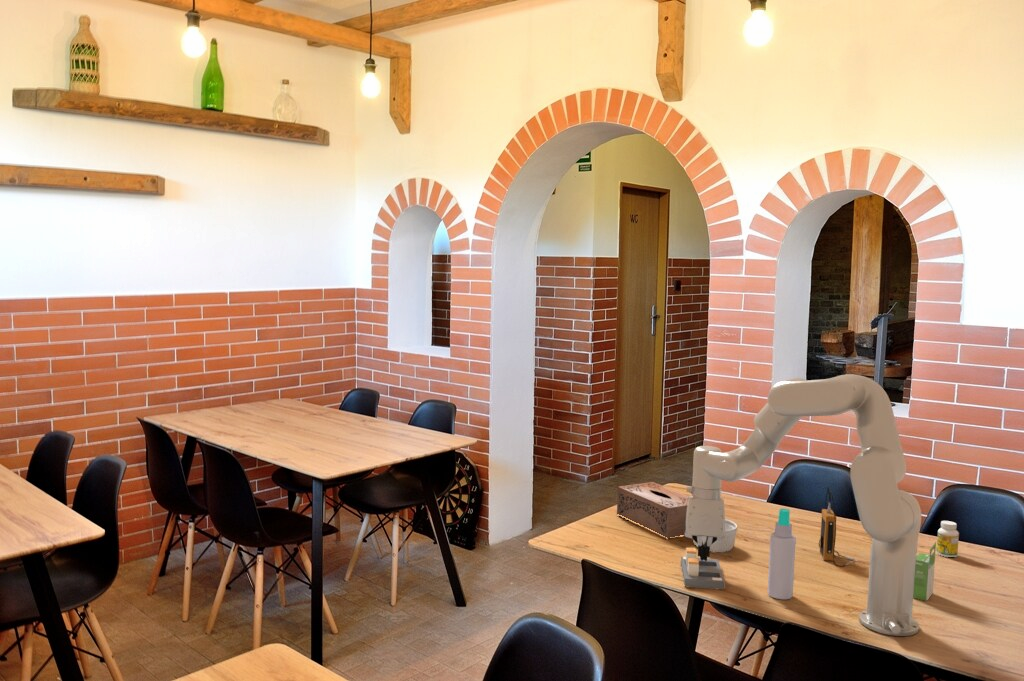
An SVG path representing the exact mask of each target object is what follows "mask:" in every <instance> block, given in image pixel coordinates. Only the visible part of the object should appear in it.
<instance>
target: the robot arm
mask: <svg viewBox="0 0 1024 681" xmlns="http://www.w3.org/2000/svg"><path fill="white" fill-rule="evenodd" d="M850 411H853V412H854V415H855V418H856V420H855V421H856V423H855V424H856V432H857V437H858V439H859V445H860V451H861V452H859V453H858V454H857V455H856V456H855V457H854V459H853V460H852V461H851V462H852V463H851V465H850V471H849V472H850V473H849V474H850V481H851V482H850V483H851V486H852V491H853V495H854V499H855V503H856V508H857V513H858V516H859V520H860V523H861V526H862V528H863V530H864V531H865V533H866V534H867V535H868V536H869V537H871V543H870V545H871V546H870V556H869V570H868V586H867V601H866V602H867V603H866V609H864V610H862V611H860V612H859V614H858V620H859V622H860V623H861V624H862V625H863V626H864V627H866V628H867V629H869V630H871V631H873V632H877V633H879V634H884V635H889V636H894V637H909V636H913V635H915V634H917V633H919V630H920V624H919V622H917V620H915V619H914V618H913V617H912V616H913V606H914V605H913V604H914V598H913V592H914V578H915V564H916V556H917V553H918V542H919V535H920V531H921V530H920V529H921V525H922V509H921V505H920V503H919V501H918V500H917V498H915V496H914V495H912V494H911V493H909V492H908V491H905V490H902V489H899V487H898V484H899V483H900V482H901V481H902V480H903V479H904V477H905V475H906V474H907V463H906V462H907V461H906V458H905V455H904V451H903V450H904V449H903V446H902V442H901V438H900V433H899V430H898V428H897V422H896V419H895V414H894V410H893V406H892V403H891V400H890V398H889V395H888V394H887V392H886V391H885V390H884V388H883V387H882V386H881V385H880V384H879V383H877V382H876V381H875V380H873V379H871V378H869V377H867V376H863V375H860V374H852V373H849V374H841V375H836V376H833V377H830V378H825V379H823V378H822V379H811V380H808V379H805V378H802V377H791V378H788V379H785V380H780V381H778V382H776V383H775V384H773V385H772V386H771V388H770V389H769V392H768V394H767V403H765V405H764V406H763V407H762V408H761V409H760V411H759V412H758V413H757V414H755V416H754V418H753V424H754V426H755V427H754V429H753V431H752V432H751V434H750V435H749V436H748V437H747V439H746V440H745V441H743V443H742V444H741V445H740V446H739V447H738V448H736V449H733V450H730V451H725V452H722V450H721V448H719V447H717V446H713V445H700V446H697V447H696V448H695V449H694V450H693V457H692V458H693V460H692V461H693V464H692V465H693V466H692V484H691V485H690V486H689V487H688V486H687V487H686V493H690V495H688V496H689V500H688V505H687V512H686V529H685V532H684V536H685V537H684V538H688V539H692V541H693V540H694V541H695V542H696V543H697V544H698V548H697V557H699V558H700V559H701V561H703V560H705V561H707V559H708V558H710V557H711V556H710V553H711V552H710V546H711V545H712V544H713V543H714V542H715V541H716V540H722V539H725V535H724V533H725V519H726V508H725V507H726V506H725V501H724V498H723V497H722V496H721V495H722V481H723V482H729V483H734V482H737V481H740V480H742V479H743V478H745V477H748V476H751V475H752V474H754V473H756V472H757V471H758V470H759V469H760V468H761V467H762V466H763V465H764V464H765V463H766V462H767V461H768V460H769V458H770V457H772V456H773V454H774V452H775V451H776V450H777V448H778V447H779V445H780V444H781V442H782V440H783V438H785V436H786V435H787V434H788V433H789V432H790V431H791V430H792V429H793V428H794V426H796V424H798V422H799V421H801V420H802V418H803V417H823V416H824V417H827V416H829V417H830V416H831V417H832V416H836V415H837V416H839V415H843V414H845V413H847V412H850ZM702 536H707V538H706V541H705V544H703V541H702Z"/></svg>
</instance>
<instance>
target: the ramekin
mask: <svg viewBox="0 0 1024 681" xmlns="http://www.w3.org/2000/svg"><path fill="white" fill-rule="evenodd" d="M737 531H738V525H737V523H736V522H734V521H732V520H730V519H726V518H725V533H724V535H725V539H722V540H716V541H715V542H714V543H713V544H712V545H711V546H710V551H714V552H713V553H716V552H721V553H726V551H727V552H729V551H731V550H732V549H733V548H734V546H735V543H736V542H735V541H736V536H737ZM706 538H707V536H702V541H703V544H705V541H706ZM692 541H693V544H694V546H695V545H696V546H697V547H698V544H697V543H696V542H695V541H694V540H693V539H692ZM696 546H695V547H696ZM697 547H696V548H697Z"/></svg>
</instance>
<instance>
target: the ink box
mask: <svg viewBox="0 0 1024 681" xmlns="http://www.w3.org/2000/svg"><path fill="white" fill-rule="evenodd" d="M936 550H937V541H935V542H934V544H933V545H932V546H931V547H930V549H929V554H927V553H922V552H919V553H918V554H916V564H915V578H914V592H913V599H915V598H918V599H917V600H919V599H921V600H920V601H924V600H925V601H926V602H927V601H928V600H929V598H931V596H932V595H933V594H934V586H935V584H934V580H935V562H936ZM925 601H924V602H925Z"/></svg>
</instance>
